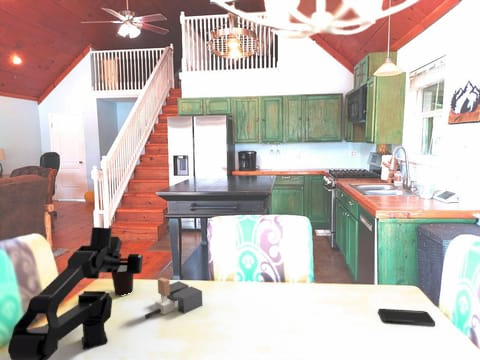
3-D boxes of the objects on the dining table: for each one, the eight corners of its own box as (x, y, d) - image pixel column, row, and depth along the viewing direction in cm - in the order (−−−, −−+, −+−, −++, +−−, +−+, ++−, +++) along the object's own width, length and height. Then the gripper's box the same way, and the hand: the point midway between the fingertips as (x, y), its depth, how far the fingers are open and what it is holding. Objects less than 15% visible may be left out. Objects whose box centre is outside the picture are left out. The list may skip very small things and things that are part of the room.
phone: (377, 308, 110) (426, 311, 107) (377, 311, 110) (426, 314, 107) (383, 320, 102) (436, 323, 100) (383, 323, 102) (436, 327, 100)
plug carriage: (149, 321, 107) (147, 288, 106) (141, 315, 110) (139, 284, 109) (174, 310, 114) (172, 279, 113) (165, 305, 117) (164, 276, 116)
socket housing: (184, 313, 111) (183, 298, 111) (161, 301, 121) (160, 287, 120) (202, 305, 117) (201, 290, 117) (179, 294, 126) (178, 281, 126)
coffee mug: (131, 297, 125) (129, 271, 124) (108, 297, 126) (106, 271, 125) (140, 284, 137) (139, 261, 136) (120, 285, 137) (118, 261, 136)
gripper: (134, 236, 104) (151, 241, 118) (77, 236, 105) (101, 241, 120) (131, 273, 100) (149, 274, 115) (72, 272, 102) (97, 273, 117)
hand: (124, 264), depth 117 cm, fingers open, 9 cm apart
